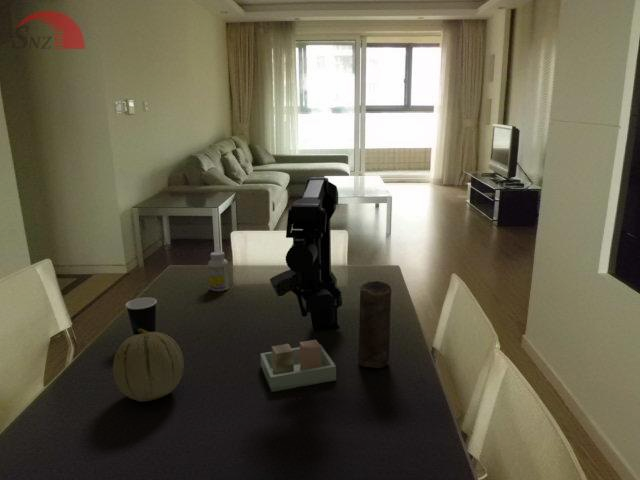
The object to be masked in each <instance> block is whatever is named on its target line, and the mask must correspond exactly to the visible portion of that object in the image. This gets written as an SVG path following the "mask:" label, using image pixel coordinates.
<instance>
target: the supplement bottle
mask: <svg viewBox="0 0 640 480" xmlns="http://www.w3.org/2000/svg"><path fill="white" fill-rule="evenodd" d="M209 256H210V258H211V260H209V261H208V274H209V286H210V290H211V291H212V292H224V290H225V291H227V290H228V289H229V288H230V287H231V285H230V284H231V283H230V273H229V272H230V271H229V270H230V269H229V262H228V260H227V259H226V258H225V252H224V251H212V252H211V253H210V255H209Z"/></svg>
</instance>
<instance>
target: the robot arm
mask: <svg viewBox="0 0 640 480" xmlns="http://www.w3.org/2000/svg"><path fill="white" fill-rule="evenodd" d="M338 204H339V191H338V187H337V185H336V184H334V183H332V182H330V181H329V178H328V177H325V176H311V177H307V181H306V185H304V192H303V195H302V198H299V199H296V200H295V201H294V202H293V203H292V204H291V208H288V212H287V219H286V220H287V222H286V230H285V231H286V233H285V238H286V239H292V245H291V246H290V248H289V249H288V250H287V252H286V255H285V262H286V265H287V267H288V268H289V270H288V269H287V270H285V271H282V272H280V273H278V274H276V275H274V276H272V277H271V278H269V281H270V284H271V286H272V288H273V290H274V292H275V294H276V296H277V297H283V296H285V295H286V294H287V293H289V292H292V293H293V294H295V296H296V300H297V303H298V307H299V310H300V315H301V317H302V318H304V317H307V316H308V315H309V319H310V325H311V329H312V332H313V333H317V332H319V331H324V330H331V329H332V330H333V329H337V328H338V329H339V328H340V324H339V323H338V309H339V308H340V307H342V306H343V296H342V291H341V289H340V287H339V286H338V279H337V277H336V276H335V274H334V272H333V271H332V246H331V245H332V244H331V243H332V242H331V239H332V238H331V237H332V236H331V234H332V232H331V219H332V217H333V215H334V213H335V211H336V210H337V206H338Z"/></svg>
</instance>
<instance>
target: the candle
mask: <svg viewBox="0 0 640 480" xmlns="http://www.w3.org/2000/svg"><path fill="white" fill-rule="evenodd" d="M391 303H392V287H391V285H390V284H388V283H387V282H383V281H381V280H376V281H367V282H365V283H364V284H362V285H361V286H360V290H359V324H358V325H359V327H358V329H359V330H358V358H357V360H358V361H357V362H358V364H359V365H360V366H361V367H365V368H372V369H377V370H378V369H381V368H383V367H385V366H386V365H388V363H389V362H390V344H391V343H390V341H391V340H390V339H391V310H392V309H391V308H392V307H391V305H392V304H391Z"/></svg>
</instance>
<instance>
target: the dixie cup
mask: <svg viewBox="0 0 640 480" xmlns="http://www.w3.org/2000/svg"><path fill="white" fill-rule="evenodd" d="M157 300H158V299H156V298H154V297H146V296H145V297H138V298H135V299H132V300H129V301H127V302H126V303H125V307H126V310H127V314H128V317H129V321H130V325H131V328H132V333H133V336H134V335H137V334H140V333H141V332H137V330H138V329H144V330H145V331H147V332H157V330H156V325H157V323H156V321H157V317H156V316H157V311H156V310H157V302H158V301H157Z"/></svg>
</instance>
